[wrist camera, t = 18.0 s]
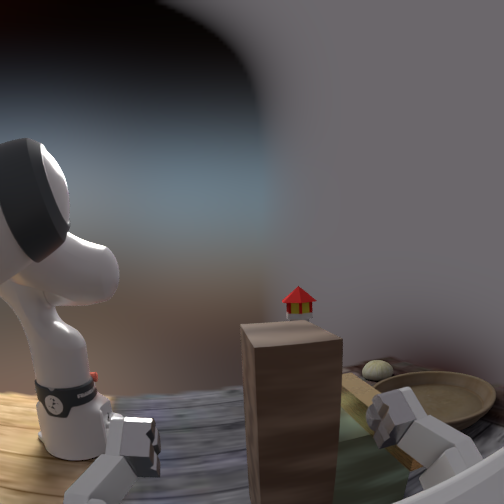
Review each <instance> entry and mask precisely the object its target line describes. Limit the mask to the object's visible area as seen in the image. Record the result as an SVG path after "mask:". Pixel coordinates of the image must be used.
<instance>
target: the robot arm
mask: <svg viewBox="0 0 504 504" xmlns="http://www.w3.org/2000/svg"><path fill="white" fill-rule="evenodd" d="M69 213H70V200H69V192H68V187H67V183H66V180H65V177H64V175H63V173H62V171H61V169H60V167H59V165H58V164H57V162H56V161H55V159H54V158H53V157H52V156H51V155H50V154H49V153H48V152H47V151H46V149H45V147H44V145H43V144H41V143H39V142H36V141H34V140H31V139H29V138H22V139H17V140H12V141H9V142H5V143H2V144H0V297H1V298H2V299H3V300H4V301H5V302H6V303H7V304H8V305H9V306H10V307H11V308H12V310H13V311H14V312H15V314H16V316H17V317H18V319H19V321H20V323H21V325H22V327H23V329H24V331H25V334H26V337H27V339H28V343H29V347H30V352H31V356H32V361H33V366H34V371H35V376H36V380H35V390H36V393H37V397H38V400H39V401H38V403H37V405H36V407H37V414H38V419H39V425H40V430H41V431H40V432H39V433H38V437H39V439H40V440H41V441H42V442H44V444H45V448H46V450H47V451H48V452H49V453H50V454H52V455H53V456H56V457H58V458H61V459H66V460H86V459H91V458H94V457H97V456H99V457H98V458H97V459H96V460H95V461H94V462H93V463H92V464H91V465H90V466H89V468H88V469H87V470H86V471H85V472H84V473H83V474H82V475H81V476H80V477H79V478H78V479H77V480H76V481H75V482H74V483H73V484H72V485H71V486H70V487H69V488H68V489H67V490H66V491H65V494H64V501H63V504H120V502H121V501H122V500H123V498H124V497H125V495H126V494H127V493H128V491H129V490H130V488H131V487H132V486H133V484H134V483H135V481H136V480H137V479H138V478H137V477H159V478H160V461H159V458H158V454H159V453H160V452H161V444H160V435H159V431H158V429H156V428H155V424H156V423H155V421H154V418H133V417H123V416H122V415H120V414H117V413H113V412H112V408H111V404H110V401H109V399H108V398H106V397H105V396H103V395H101V394H100V393H98V392H97V389H96V385H95V382H97V379H98V375H97V373H96V372H90V371H89V364H88V357H87V349H86V343H85V340H84V338H83V337H82V335H81V334H80V333H79V332H78V331H77V330H76V329H74V328H73V327H71V326H69V325H67V324H66V323H64V322H63V321H62V320H61V319H60V317H59V316H58V314H57V312H56V309H55V306H85V305H91V304H96V303H100V302H104V301H108V300H109V299H110V298H111V297H112V296H113V294H114V293H115V291H116V289H117V286H118V283H119V267H118V263H117V260H116V258H115V256H114V255H113V253H112V252H111V251H110V250H109V249H108V248H107V247H105V246H102V245H98V244H94V243H91V242H88V241H85V240H83V239H80V238H78V237H76V236H74V235H72V234H71V233H69V232H68V231H69V228H70V219H69ZM372 402H373V404H372V405H370V406H369V407H368V409H367V412H366V420H367V424H368V426H369V428H370V429H372V430H373V431H375V432H374V436H373V437H374V440H375V442H376V444H377V446H378V449H382V448H386V447H389V446H393V445H396V444H397V446H398V447H399V448H401V449H402V450H403V451H405V452H406V453H407V454H408V455H410V456H411V457H412V458H414V459H415V460H416V461H417V462H419V463H420V464H421V465H423V466H424V467H425V468H427V470H426V471H425V472H424V473H423V474H422V475H421V476H420V478H419V480H420V482H421V484H422V487H423V489H424V491H422V492H420V493H417V494H415V495H413V496H410V497H408V498H405V499H403V500H400V501H398V502H395V503H392V504H504V447H503V448H501V449H500V450H498V451H497V452H495V453H493V454H492V455H490V456H489V457H487V458H485V459H484V460H483V458H482V456H481V454H480V453H479V451H478V449H477V447H476V446H475V444H474V442H473V441H472V439H471V437H469V436H467V435H465V434H463V433H461V432H460V431H458V430H456V429H454V428H453V427H451V426H449V425H447V424H445V423H444V422H442V421H440V420H438V419H437V418H435V417H433V416H431V415H428V416H427V414H426V412H425V411H424V409H423V407H422V406H421V404H420V402H419V401H418V399H417V397H416V396H415V394H414V392H413V391H412V389H411V388H410V387H404V388H400V389H396V390H392V391H388V392H385V393H381V394H377V395H375V396H374V397H373V399H372ZM104 453H105V454H104Z"/></svg>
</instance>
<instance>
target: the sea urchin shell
mask: <svg viewBox="0 0 504 504" xmlns="http://www.w3.org/2000/svg"><path fill="white" fill-rule="evenodd" d="M362 371H363V372H362V374H363V377H364V378H366V379H369V380H373V381H381V380H384V379H387V378H389V377H391V376H392V374H393V368H392V367H391V365H390V364H389V363H387V362H384V361H379V360H375V361H371V362H369V363H367V364H366V365H365V367H364V368H363V370H362Z"/></svg>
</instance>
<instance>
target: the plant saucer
mask: <svg viewBox="0 0 504 504" xmlns="http://www.w3.org/2000/svg"><path fill="white" fill-rule="evenodd" d="M404 387H410V388H411V389H412V391H413V392H414V394H415V396H416V397H417V399H418V401H419V402H420V404H421V406H422V407H423V409H424V411H425V412H426V414H427V416H428V415H431V416H433V417H435V418H437V419H438V420H440V421H442V422H444V423H445V424H447V425H449V426H451V427H453V428H454V429H456V430H458V431H460V430H463V429H465V428H467V427H469V426H471V425H472V424H474V423H475V422H476V421H478V420H479V419H480V418H481V417H483V416H484V415H485V414H486V413H487V412H488V411H489V410H490V408H491V407H492V406H493V404H494V402H495V400H496V392H495V389H494V388H493V387H492V386H491V385H490V384H489V383H488V382H486V381H484V380H482V379H480V378H477V377H474V376H471V375H467V374H462V373H455V372H444V371H425V372H413V373H406V374H401V375H397V376H393V377H390V378H387V379H384V380H382V381H380V382H378V383H377V384H375V385H374V386H373V388H375V389H376V390H378V391H379V392H381V393H385V392H388V391H392V390H396V389H400V388H404Z"/></svg>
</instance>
